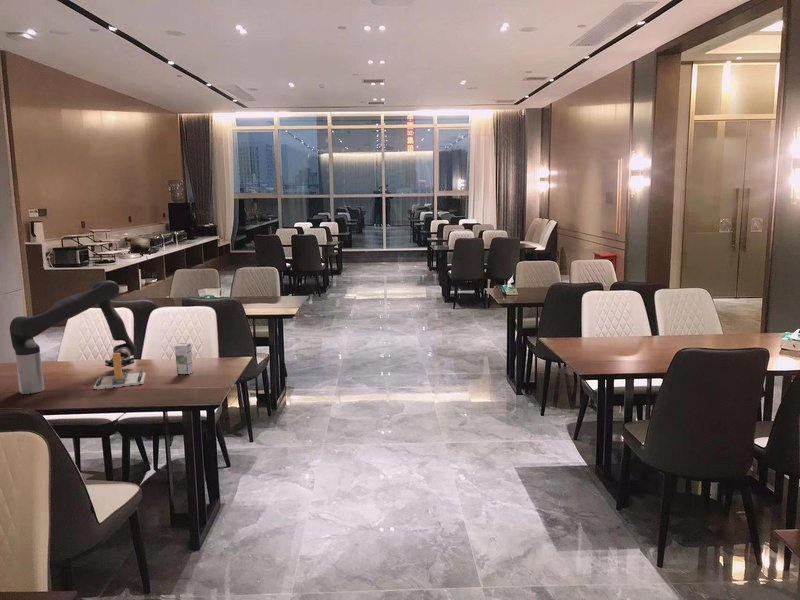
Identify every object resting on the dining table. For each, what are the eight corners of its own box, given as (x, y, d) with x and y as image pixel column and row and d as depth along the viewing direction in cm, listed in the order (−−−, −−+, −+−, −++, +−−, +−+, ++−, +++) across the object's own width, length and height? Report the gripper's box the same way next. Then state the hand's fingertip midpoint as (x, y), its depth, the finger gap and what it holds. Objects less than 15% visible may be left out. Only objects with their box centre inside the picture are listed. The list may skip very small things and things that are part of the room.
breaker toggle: (112, 381, 281) (109, 354, 280) (113, 379, 284) (110, 353, 283) (124, 379, 283) (122, 353, 281) (125, 378, 286) (122, 352, 284)
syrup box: (193, 371, 303) (191, 342, 301) (188, 375, 297) (185, 345, 295) (182, 372, 304) (179, 342, 301) (176, 375, 298) (174, 345, 296)
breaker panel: (93, 389, 278) (93, 384, 277) (99, 379, 295) (98, 374, 294) (142, 384, 284) (142, 378, 284) (145, 374, 301) (144, 369, 300)
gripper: (105, 351, 297) (100, 359, 281) (135, 348, 302) (132, 356, 285) (107, 367, 299) (102, 376, 282) (137, 363, 303) (134, 372, 286)
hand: (117, 366), depth 284 cm, fingers closed
